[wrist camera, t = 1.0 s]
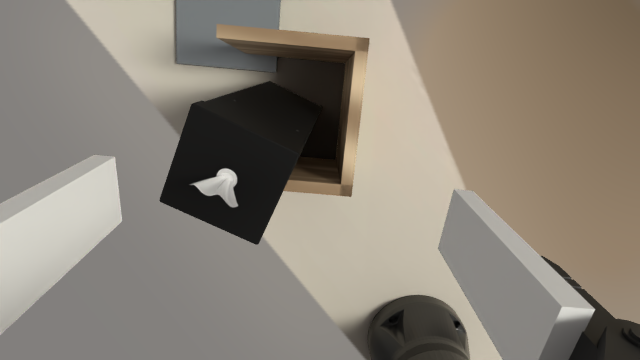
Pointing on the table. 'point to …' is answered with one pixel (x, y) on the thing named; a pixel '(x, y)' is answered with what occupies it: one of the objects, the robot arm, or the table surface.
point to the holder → (352, 52)
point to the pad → (201, 28)
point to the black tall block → (239, 157)
